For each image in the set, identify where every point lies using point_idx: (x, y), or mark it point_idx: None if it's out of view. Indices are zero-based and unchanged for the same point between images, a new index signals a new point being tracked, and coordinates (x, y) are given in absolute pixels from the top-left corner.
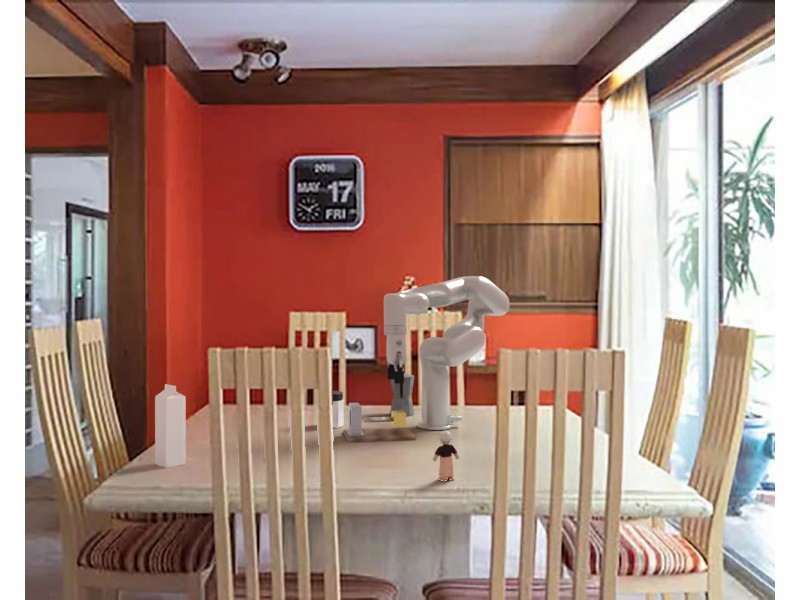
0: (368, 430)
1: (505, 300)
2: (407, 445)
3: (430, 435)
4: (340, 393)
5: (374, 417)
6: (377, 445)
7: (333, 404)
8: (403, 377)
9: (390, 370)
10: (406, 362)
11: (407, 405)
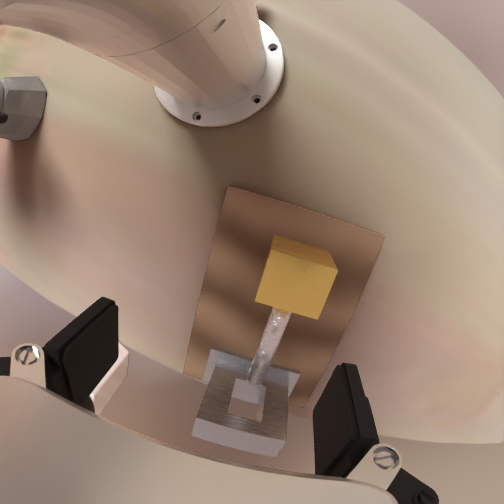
0: (219, 326)
1: None
2: (423, 295)
3: (343, 151)
4: None
5: (266, 362)
6: (376, 362)
7: (98, 400)
8: (362, 396)
9: (83, 385)
10: (389, 497)
11: (22, 95)
